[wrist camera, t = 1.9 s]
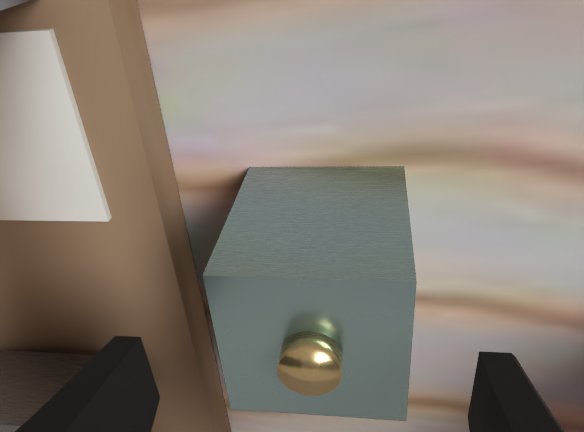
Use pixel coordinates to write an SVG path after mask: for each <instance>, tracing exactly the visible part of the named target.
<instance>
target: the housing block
mask: <svg viewBox="0 0 584 432" xmlns="http://www.w3.org/2000/svg"><path fill="white" fill-rule="evenodd" d="M202 276H203V281H204V285H205V290H206V295H207V299H208V304H209V309H210V313H211V318H212V323H213V328H214V332H215V337H216V342H217V346H218V351H219V356H220V360H221V365H222V370H223V375H224V379H225V384H226V389H227V393H228V398H229V403H230V408H231V409H237V410H251V411H266V412H281V413H295V414H310V415H325V416H339V417H354V418H368V419H383V420H398V421H406V416H407V402H408V389H409V375H410V362H411V348H412V335H413V321H414V308H415V294H416V273H415V264H414V254H413V245H412V236H411V227H410V217H409V208H408V199H407V190H406V180H405V171H404V166H385V167H249V169H248V171H247V174H246V176H245V178H244V181H243V183H242V185H241V188H240V190H239V192H238V195H237V197H236V199H235V201H234V204H233V206H232V208H231V211H230V213H229V215H228V218H227V220H226V222H225V225H224V227H223V229H222V231H221V234H220V236H219V238H218V241H217V243H216V245H215V248H214V250H213V252H212V254H211V257H210V259H209V261H208V264H207V266H206V268H205V271H204V273H203V275H202Z"/></svg>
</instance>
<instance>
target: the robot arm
mask: <svg viewBox="0 0 584 432" xmlns="http://www.w3.org/2000/svg"><path fill="white" fill-rule="evenodd" d="M159 400H160V395H159V392H158V389H157V386H156V383H155V380H154V376H153V373H152V370H151V367H150V364H149V361H148V358H147V355H146V352H145V348H144V345H143V342H142V339H141V337H130V336H114V337H113V338H112V339H111V340H110V341H109V342H108V343H107V344H106V345H105V346H104V347H103V348H102V349H101V350H100V351H99V352H98V353H97V354H96V355H95V356H94V357H93V358H92V359H91V360H90V361H89V362H88V363H87V364H86V365H85V366H84V367H83V368H82V369H81V370H79V371H78V372H77V373H76V374H75V375H74V376H73V377H72V378H71V379H70V380H69V381H68V382H67V383H66V384H65V385H64V386H63V387H62V388H61V389H60V390H59V391H58V392H57V393H56V394H55V395H54V396H53V397H52V398H51V399H50V400H48V401H47V402H46V403H45V404H44V405H43V406H42V407H41V408H40V409H39V410H38V411H37V412H36V413H35V414H34V415H33V416H32V417H31V418H29V419H28V420H27V421H26V422H25V423H24V424H23V425H22V426H21V427H19V428H18V429H17V430H16V431H15V432H151V430H152V426H153V423H154V419H155V415H156V412H157V408H158V404H159ZM468 421H469V429H470V432H564V430H563V429H562V428H561V426H560V425H559V423H558V422H557V420H556V419H555V418H554V416H553V415H552V413H551V412H550V410H549V409H548V407H547V406H546V404H545V403H544V401H543V400H542V398H541V397H540V395H539V394H538V392H537V391H536V389H535V388H534V386H533V384H532V383H531V381H530V380H529V378H528V376H527V375H526V373H525V372H524V370H523V368H522V367H521V365H520V363H519V362H518V360H517V358H516V357H515V356H514V355H513V354H512V353H498V352H479V357H478V362H477V368H476V374H475V379H474V385H473V391H472V396H471V402H470V408H469V413H468Z"/></svg>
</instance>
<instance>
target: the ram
mask: <svg viewBox="0 0 584 432" xmlns="http://www.w3.org/2000/svg"><path fill="white" fill-rule="evenodd" d="M94 356H95V355H84V354H66V353H47V352H29V351H10V350H0V432H15V431H16V430H17V429H18V428H19V427H21V426H22V425H23V424H24V423H25V422H26V421H27V420H28V419H29V418H31V417H32V416H33V415H34V414H35V413H36V412H37V411H38V410H39V409H40V408H41V407H42V406H43V405H44V404H45V403H46V402H47V401H48V400H50V399H51V398H52V397H53V396H54V395H55V394H56V393H57V392H58V391H59V390H60V389H61V388H62V387H63V386H64V385H65V384H66V383H67V382H68V381H69V380H70V379H71V378H72V377H73V376H74V375H75V374H76V373H77V372H78V371H79V370H81V369H82V368H83V367H84V366H85V365H86V364H87V363H88V362H89V361H90V360H91V359H92V358H93V357H94Z"/></svg>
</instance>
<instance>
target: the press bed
mask: <svg viewBox="0 0 584 432" xmlns="http://www.w3.org/2000/svg"><path fill="white" fill-rule="evenodd" d="M114 336H130V337H141V339H142V342H143V345H144V348H145V352H146V355H147V358H148V361H149V364H150V367H151V370H152V373H153V376H154V380H155V383H156V386H157V389H158V392H159V395H160V400H159V404H158V408H157V412H156V415H155V419H154V423H153V426H152V430H151V432H231V429H230V424H229V420H228V415H227V411H226V406H225V402H224V397H223V392H222V388H221V383H220V379H219V374H218V370H217V365H216V361H215V356H214V351H213V347H212V342H211V338H210V333H209V329H208V324H207V319H206V315H205V310H204V306H203V301H202V297H201V292H200V287H199V283H198V278H197V274H196V269H195V265H194V260H193V256H192V251H191V246H190V242H189V237H188V233H187V228H186V224H185V219H184V214H183V210H182V205H181V201H180V196H179V192H178V187H177V183H176V178H175V173H174V169H173V164H172V160H171V155H170V151H169V146H168V141H167V137H166V132H165V128H164V123H163V119H162V114H161V109H160V105H159V100H158V96H157V91H156V87H155V82H154V78H153V73H152V68H151V64H150V59H149V55H148V50H147V46H146V41H145V36H144V32H143V27H142V23H141V18H140V14H139V9H138V4H137V0H0V350H10V351H29V352H47V353H66V354H84V355H96V354H97V353H98V352H99V351H100V350H101V349H102V348H103V347H104V346H105V345H106V344H107V343H108V342H109V341H110V340H111V339H112V338H113V337H114Z"/></svg>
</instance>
